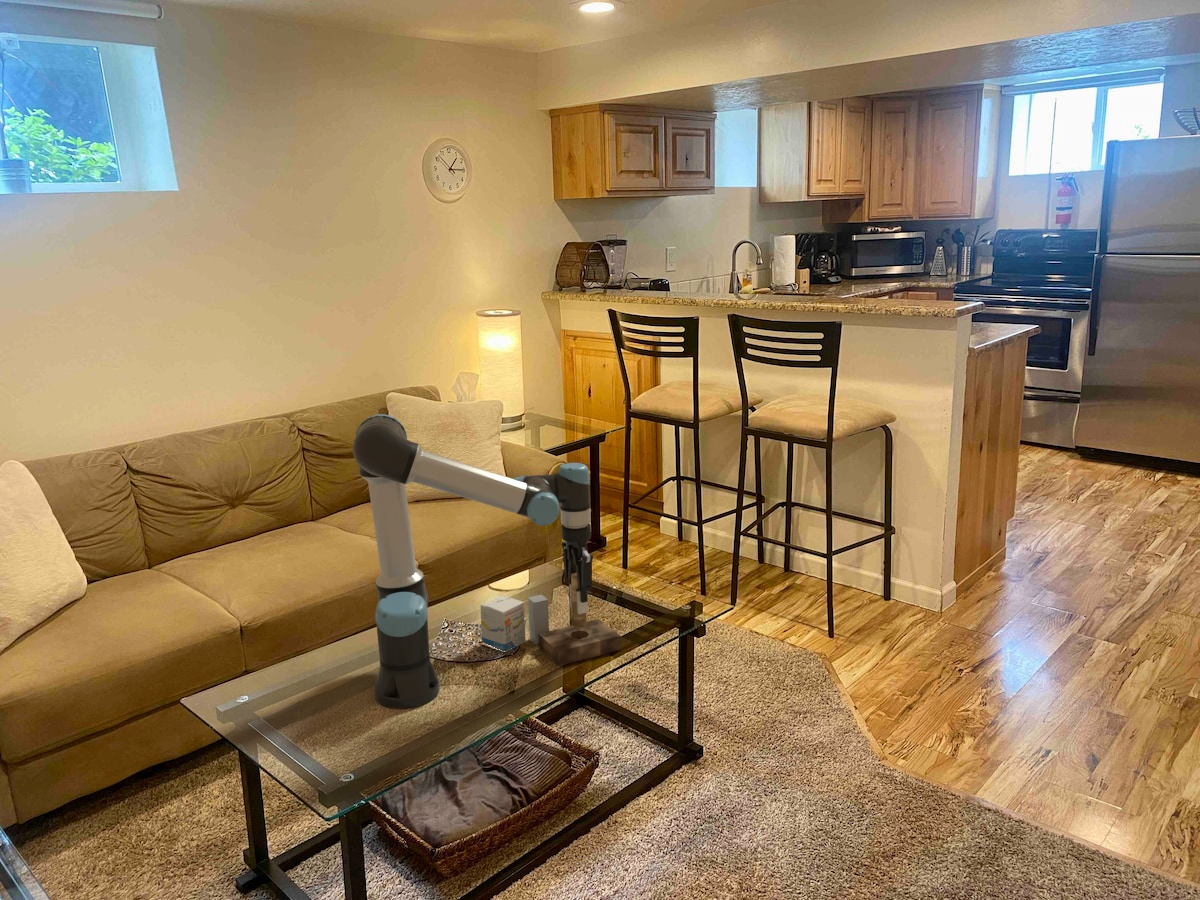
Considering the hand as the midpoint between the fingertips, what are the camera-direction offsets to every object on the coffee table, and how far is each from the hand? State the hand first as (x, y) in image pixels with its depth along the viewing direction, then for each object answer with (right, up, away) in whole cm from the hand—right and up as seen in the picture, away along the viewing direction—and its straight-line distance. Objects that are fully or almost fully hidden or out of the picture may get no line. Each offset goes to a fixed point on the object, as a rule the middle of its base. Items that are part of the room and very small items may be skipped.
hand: (579, 609), depth 230 cm
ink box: (-20, -10, +7) cm, 24 cm away
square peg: (-11, -10, +8) cm, 17 cm away
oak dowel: (0, -4, +1) cm, 4 cm away
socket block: (0, -11, +3) cm, 11 cm away
